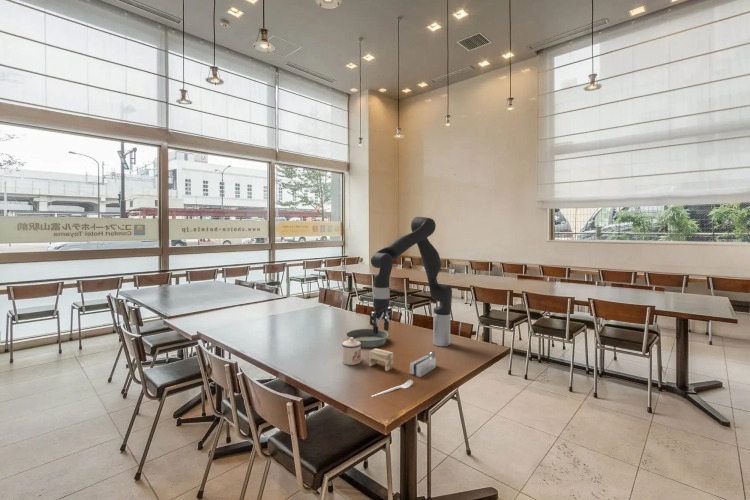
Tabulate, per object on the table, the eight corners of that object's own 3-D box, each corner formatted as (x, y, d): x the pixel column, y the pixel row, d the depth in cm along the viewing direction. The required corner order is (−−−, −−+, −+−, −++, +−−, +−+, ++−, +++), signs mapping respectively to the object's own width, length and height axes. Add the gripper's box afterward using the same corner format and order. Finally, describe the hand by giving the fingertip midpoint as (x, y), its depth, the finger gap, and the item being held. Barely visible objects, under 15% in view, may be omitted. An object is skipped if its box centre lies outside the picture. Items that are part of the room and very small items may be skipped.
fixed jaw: (431, 366, 165) (431, 356, 165) (435, 367, 164) (435, 357, 164) (416, 376, 154) (416, 365, 154) (420, 377, 153) (420, 366, 152)
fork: (368, 397, 136) (368, 392, 135) (409, 383, 147) (409, 378, 147) (373, 400, 133) (373, 395, 133) (414, 386, 144) (414, 381, 144)
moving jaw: (429, 363, 169) (429, 350, 169) (436, 364, 167) (436, 352, 166) (409, 373, 156) (409, 360, 156) (416, 375, 154) (416, 361, 153)
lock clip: (375, 362, 169) (375, 348, 169) (393, 367, 163) (393, 352, 163) (368, 365, 165) (369, 351, 165) (386, 371, 159) (386, 355, 159)
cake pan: (389, 336, 214) (389, 328, 214) (387, 349, 190) (387, 341, 190) (349, 335, 217) (349, 327, 216) (341, 347, 192) (341, 339, 192)
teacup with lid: (355, 366, 164) (355, 341, 164) (338, 363, 168) (338, 338, 168) (367, 358, 175) (367, 335, 174) (351, 355, 179) (351, 332, 178)
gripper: (378, 300, 155) (378, 337, 156) (396, 295, 166) (396, 330, 167) (365, 298, 159) (365, 334, 160) (383, 293, 171) (383, 327, 172)
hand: (381, 332), depth 164 cm, fingers open, 8 cm apart
